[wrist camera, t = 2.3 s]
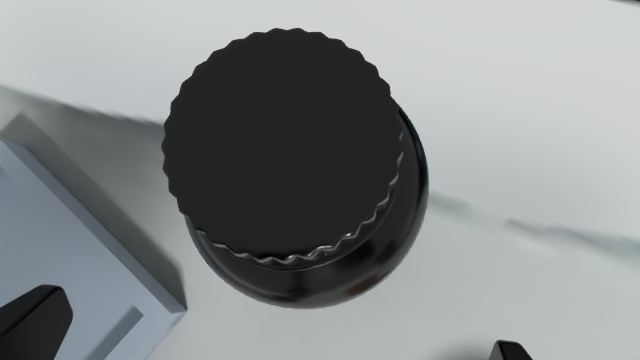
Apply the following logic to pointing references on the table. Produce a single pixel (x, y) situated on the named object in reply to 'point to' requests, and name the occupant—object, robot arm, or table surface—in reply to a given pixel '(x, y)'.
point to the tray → (76, 265)
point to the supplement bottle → (295, 169)
